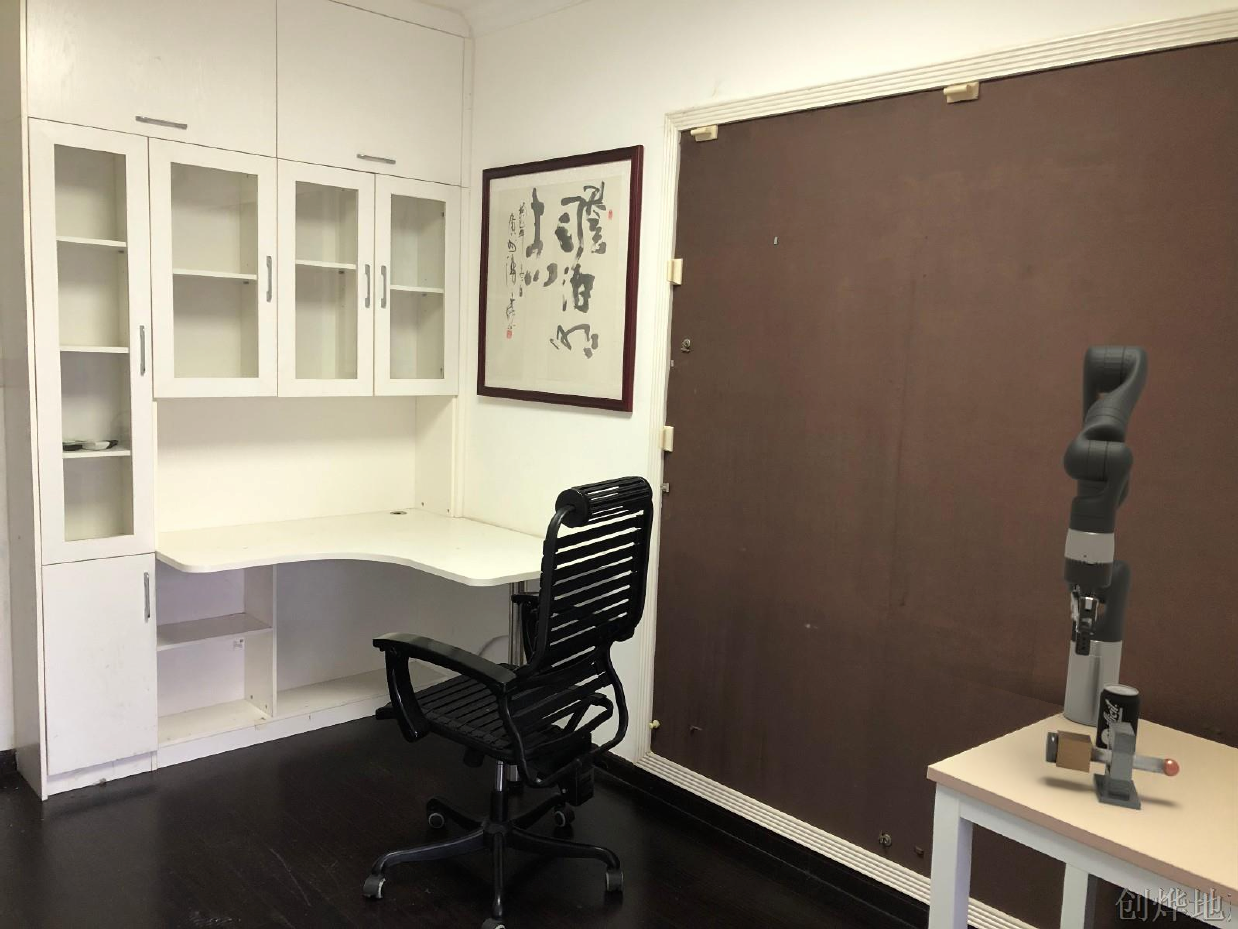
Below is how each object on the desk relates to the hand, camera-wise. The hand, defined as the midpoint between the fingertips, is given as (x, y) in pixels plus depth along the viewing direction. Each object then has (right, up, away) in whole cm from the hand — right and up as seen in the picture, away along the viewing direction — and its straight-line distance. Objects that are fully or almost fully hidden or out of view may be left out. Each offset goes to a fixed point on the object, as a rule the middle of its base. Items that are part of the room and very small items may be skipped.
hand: (1079, 648), depth 167 cm
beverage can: (+12, -22, +12) cm, 27 cm away
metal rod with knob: (+2, -19, -7) cm, 21 cm away
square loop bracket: (+3, -23, -7) cm, 24 cm away
